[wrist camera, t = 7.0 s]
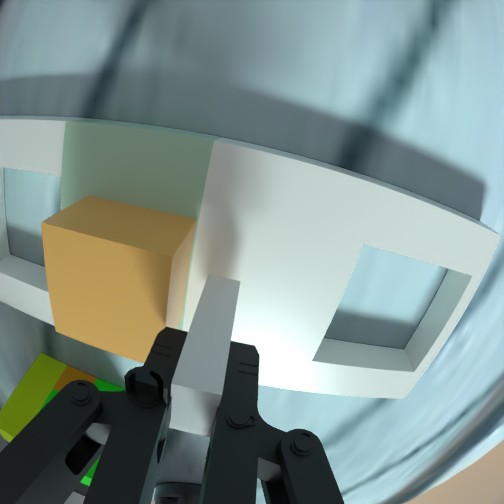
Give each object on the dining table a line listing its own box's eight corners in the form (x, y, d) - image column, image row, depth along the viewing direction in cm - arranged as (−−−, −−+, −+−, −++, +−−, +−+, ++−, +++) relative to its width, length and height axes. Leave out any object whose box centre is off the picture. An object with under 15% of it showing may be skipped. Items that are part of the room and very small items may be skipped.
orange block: (181, 318, 17) (162, 368, 13) (89, 291, 16) (56, 331, 13) (196, 219, 14) (172, 256, 10) (88, 195, 14) (41, 222, 10)
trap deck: (395, 376, 22) (403, 398, 19) (8, 281, 20) (-9, 296, 18) (480, 221, 16) (501, 235, 13) (-2, 115, 14) (-25, 120, 12)
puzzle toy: (57, 404, 28) (26, 465, 18) (41, 351, 23) (-8, 423, 14) (131, 435, 28) (108, 505, 19) (129, 389, 24) (93, 479, 15)
